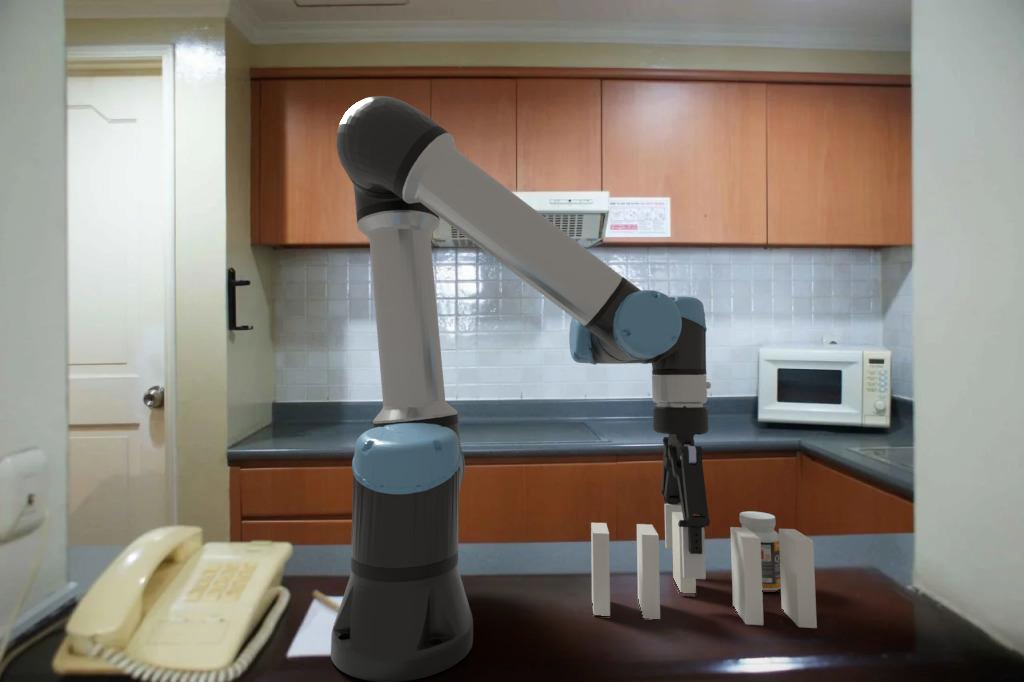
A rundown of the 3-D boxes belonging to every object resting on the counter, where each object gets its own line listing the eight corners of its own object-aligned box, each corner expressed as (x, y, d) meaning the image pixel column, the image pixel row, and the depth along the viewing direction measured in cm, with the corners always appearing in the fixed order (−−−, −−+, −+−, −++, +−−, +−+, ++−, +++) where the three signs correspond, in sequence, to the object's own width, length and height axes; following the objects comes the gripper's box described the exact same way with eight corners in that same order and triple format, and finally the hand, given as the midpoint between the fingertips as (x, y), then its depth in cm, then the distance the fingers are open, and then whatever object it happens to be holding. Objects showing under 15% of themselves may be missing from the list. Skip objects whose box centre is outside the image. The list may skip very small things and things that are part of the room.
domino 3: (680, 596, 70) (679, 520, 71) (673, 582, 75) (671, 511, 76) (696, 597, 70) (694, 521, 70) (687, 583, 75) (685, 512, 75)
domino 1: (593, 616, 64) (592, 533, 65) (591, 599, 69) (591, 522, 70) (610, 617, 64) (609, 533, 64) (607, 600, 68) (606, 523, 69)
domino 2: (643, 619, 63) (641, 534, 64) (637, 602, 68) (636, 524, 69) (660, 619, 63) (658, 535, 64) (653, 602, 68) (651, 524, 69)
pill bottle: (788, 596, 70) (785, 521, 71) (743, 592, 71) (740, 518, 72) (775, 580, 76) (773, 511, 77) (734, 577, 77) (732, 509, 78)
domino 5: (798, 627, 61) (795, 540, 62) (781, 608, 66) (778, 528, 67) (816, 628, 61) (813, 540, 62) (798, 609, 66) (794, 529, 67)
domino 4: (746, 624, 62) (743, 538, 63) (732, 606, 67) (730, 527, 68) (763, 625, 62) (760, 538, 62) (748, 607, 67) (746, 527, 67)
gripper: (733, 409, 62) (739, 597, 60) (687, 402, 86) (691, 538, 84) (669, 408, 63) (673, 594, 61) (641, 402, 87) (644, 536, 85)
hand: (683, 561), depth 73 cm, fingers open, 11 cm apart
